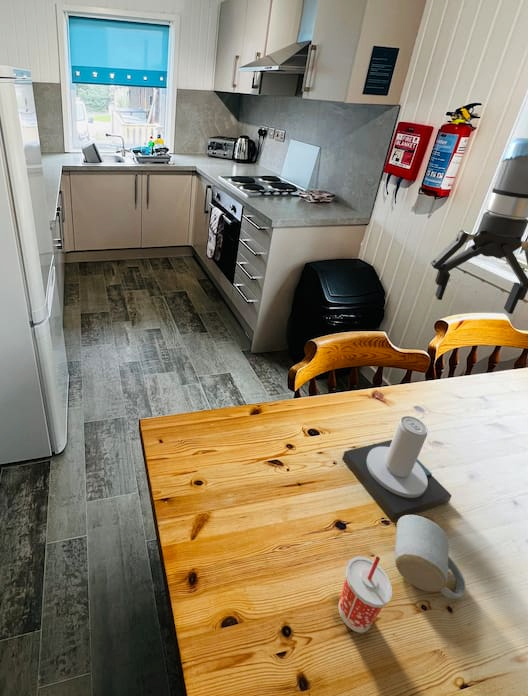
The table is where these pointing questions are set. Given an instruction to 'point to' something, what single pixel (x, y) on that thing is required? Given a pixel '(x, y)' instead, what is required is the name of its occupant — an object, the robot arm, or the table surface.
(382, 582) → the beverage cup
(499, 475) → the table surface
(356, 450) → the kitchen scale
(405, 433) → the beverage can
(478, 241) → the robot arm
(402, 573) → the ceramic mug
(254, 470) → the table surface
